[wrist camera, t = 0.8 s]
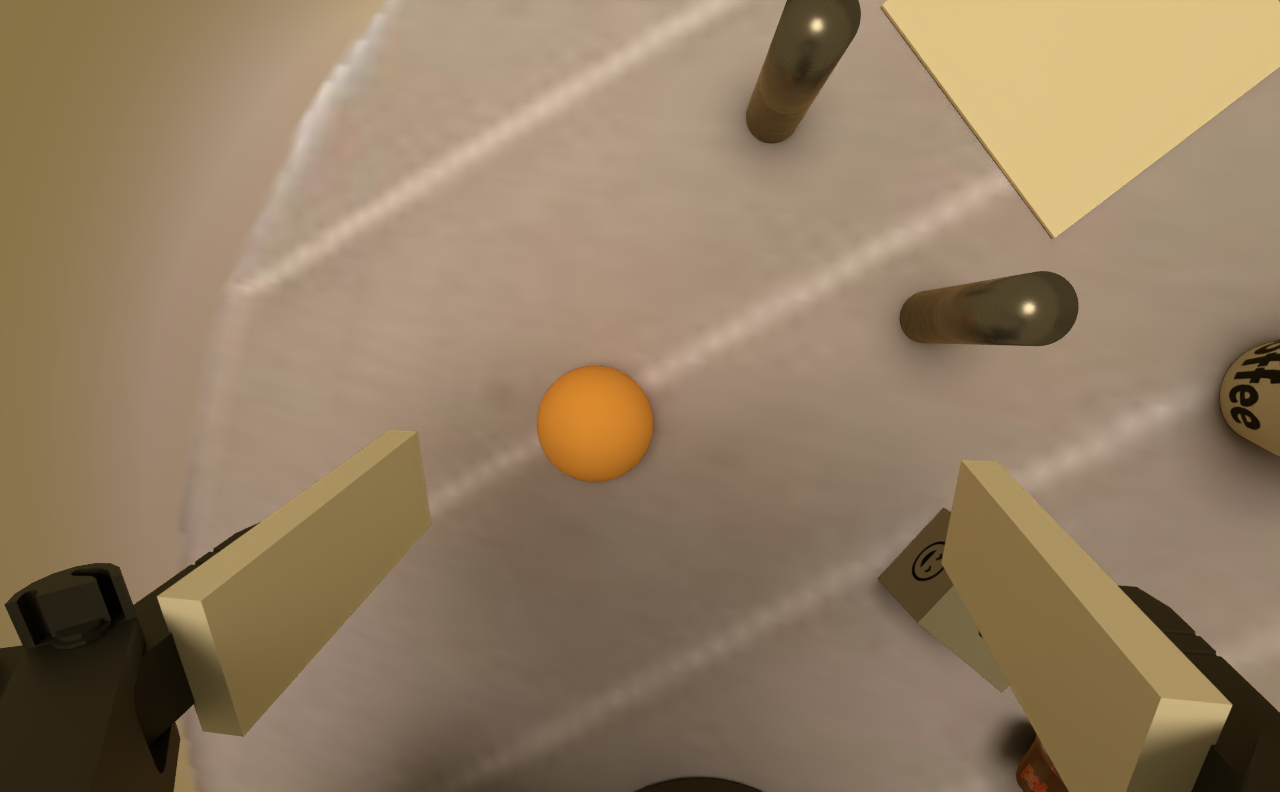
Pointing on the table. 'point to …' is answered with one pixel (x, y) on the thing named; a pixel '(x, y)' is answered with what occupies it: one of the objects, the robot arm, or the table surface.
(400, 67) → the table surface
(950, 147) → the table surface
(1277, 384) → the cup
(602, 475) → the ball
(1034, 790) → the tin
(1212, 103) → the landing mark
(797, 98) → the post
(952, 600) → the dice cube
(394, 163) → the table surface
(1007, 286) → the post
